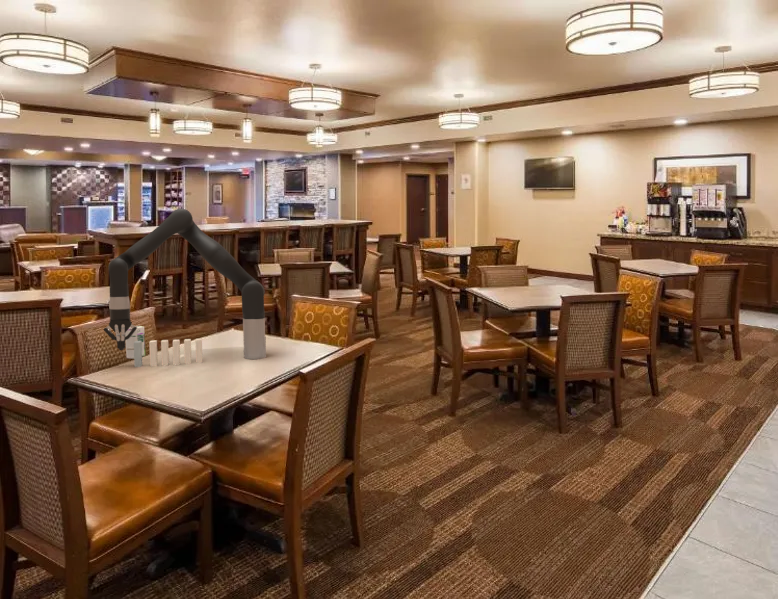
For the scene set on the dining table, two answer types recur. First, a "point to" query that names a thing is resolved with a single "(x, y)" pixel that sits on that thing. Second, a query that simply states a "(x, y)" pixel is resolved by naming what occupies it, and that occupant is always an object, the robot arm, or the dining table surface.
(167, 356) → the domino
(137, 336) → the syrup box
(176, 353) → the domino
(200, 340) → the domino
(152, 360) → the domino
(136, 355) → the domino
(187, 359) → the domino
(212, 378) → the dining table surface
